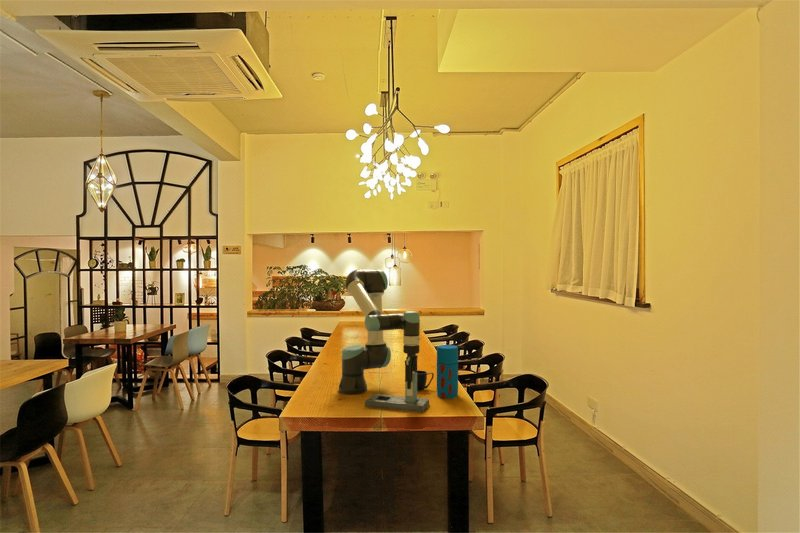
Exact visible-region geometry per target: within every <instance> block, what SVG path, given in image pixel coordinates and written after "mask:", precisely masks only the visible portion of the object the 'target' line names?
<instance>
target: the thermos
mask: <svg viewBox="0 0 800 533" xmlns="http://www.w3.org/2000/svg"><path fill="white" fill-rule="evenodd" d="M436 395H437V397H439V398H441V399H445V400H447V399H450V400H451V399H455V398H458V395H459V347H458V346H457V345H453V344H452V345H450V344H446V345H445V344H441V345H437V347H436Z"/></svg>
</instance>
